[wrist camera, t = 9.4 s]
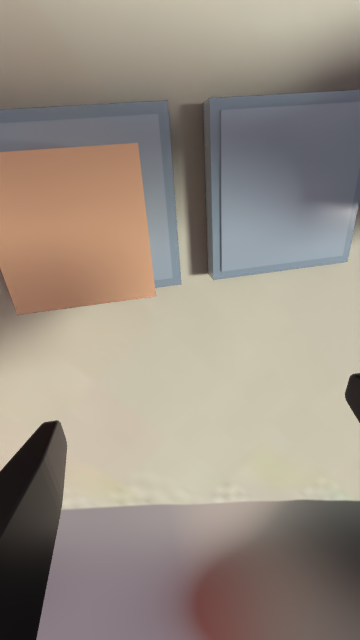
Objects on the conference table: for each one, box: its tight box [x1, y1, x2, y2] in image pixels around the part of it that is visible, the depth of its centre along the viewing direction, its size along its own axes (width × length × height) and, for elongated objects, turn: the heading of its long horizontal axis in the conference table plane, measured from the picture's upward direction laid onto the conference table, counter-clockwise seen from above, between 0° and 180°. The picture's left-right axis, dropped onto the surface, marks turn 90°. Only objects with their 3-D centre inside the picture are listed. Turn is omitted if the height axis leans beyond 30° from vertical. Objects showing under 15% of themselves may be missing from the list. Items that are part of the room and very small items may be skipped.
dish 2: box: [203, 90, 360, 280], centre depth 17 cm, size 9×9×1 cm
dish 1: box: [0, 100, 181, 288], centre depth 15 cm, size 9×9×1 cm
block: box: [0, 143, 156, 315], centre depth 12 cm, size 5×5×6 cm
